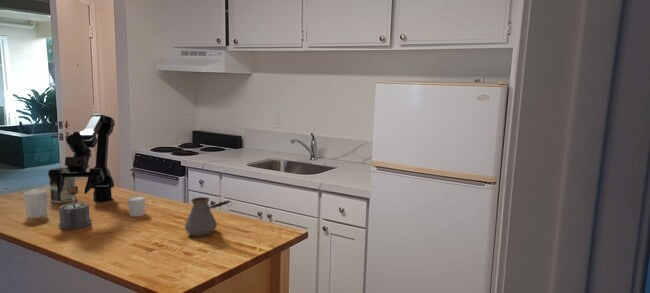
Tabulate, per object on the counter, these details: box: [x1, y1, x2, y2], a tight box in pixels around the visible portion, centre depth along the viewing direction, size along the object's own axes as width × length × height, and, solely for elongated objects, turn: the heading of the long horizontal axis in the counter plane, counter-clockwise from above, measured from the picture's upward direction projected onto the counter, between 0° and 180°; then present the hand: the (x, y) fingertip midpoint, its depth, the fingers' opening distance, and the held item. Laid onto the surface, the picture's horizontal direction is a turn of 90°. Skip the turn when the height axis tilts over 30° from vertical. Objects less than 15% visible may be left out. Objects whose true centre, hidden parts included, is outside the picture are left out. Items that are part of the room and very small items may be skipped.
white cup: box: [23, 189, 48, 219], centre depth 180 cm, size 8×8×10 cm
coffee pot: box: [184, 196, 233, 237], centre depth 160 cm, size 21×12×15 cm, turn 57°
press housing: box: [58, 202, 92, 231], centre depth 169 cm, size 13×11×8 cm
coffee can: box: [47, 167, 77, 204], centre depth 203 cm, size 10×10×14 cm
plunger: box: [64, 185, 84, 209], centre depth 169 cm, size 7×7×8 cm
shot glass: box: [127, 195, 146, 218], centre depth 184 cm, size 7×7×7 cm
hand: (72, 193), depth 168 cm, fingers open, 9 cm apart
